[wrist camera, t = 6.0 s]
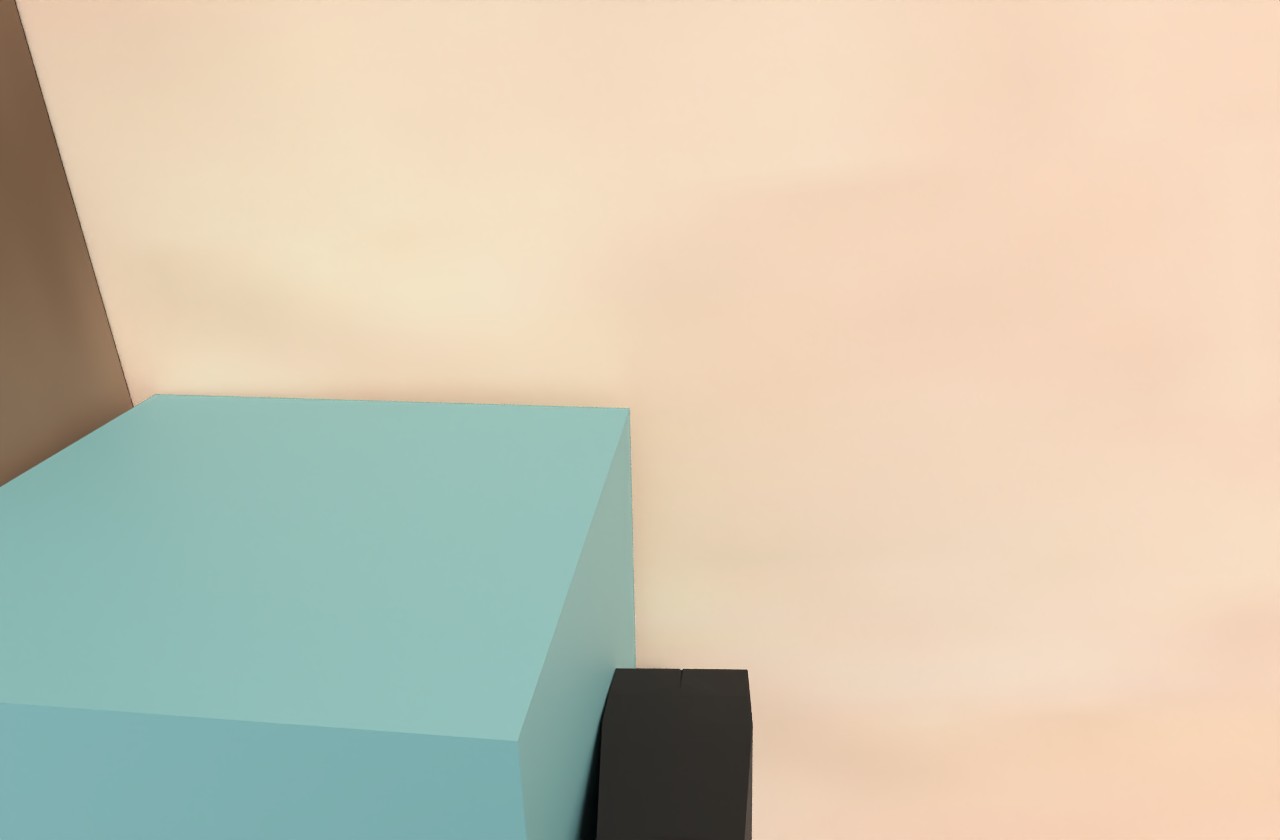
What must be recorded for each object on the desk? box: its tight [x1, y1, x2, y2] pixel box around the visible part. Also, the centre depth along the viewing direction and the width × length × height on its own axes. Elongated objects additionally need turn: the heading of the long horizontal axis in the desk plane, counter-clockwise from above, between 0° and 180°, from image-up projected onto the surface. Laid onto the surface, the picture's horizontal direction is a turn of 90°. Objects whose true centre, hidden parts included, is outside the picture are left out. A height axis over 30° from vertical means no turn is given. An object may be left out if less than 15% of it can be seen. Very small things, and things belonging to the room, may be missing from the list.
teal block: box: [0, 394, 636, 840], centre depth 8 cm, size 6×5×4 cm
